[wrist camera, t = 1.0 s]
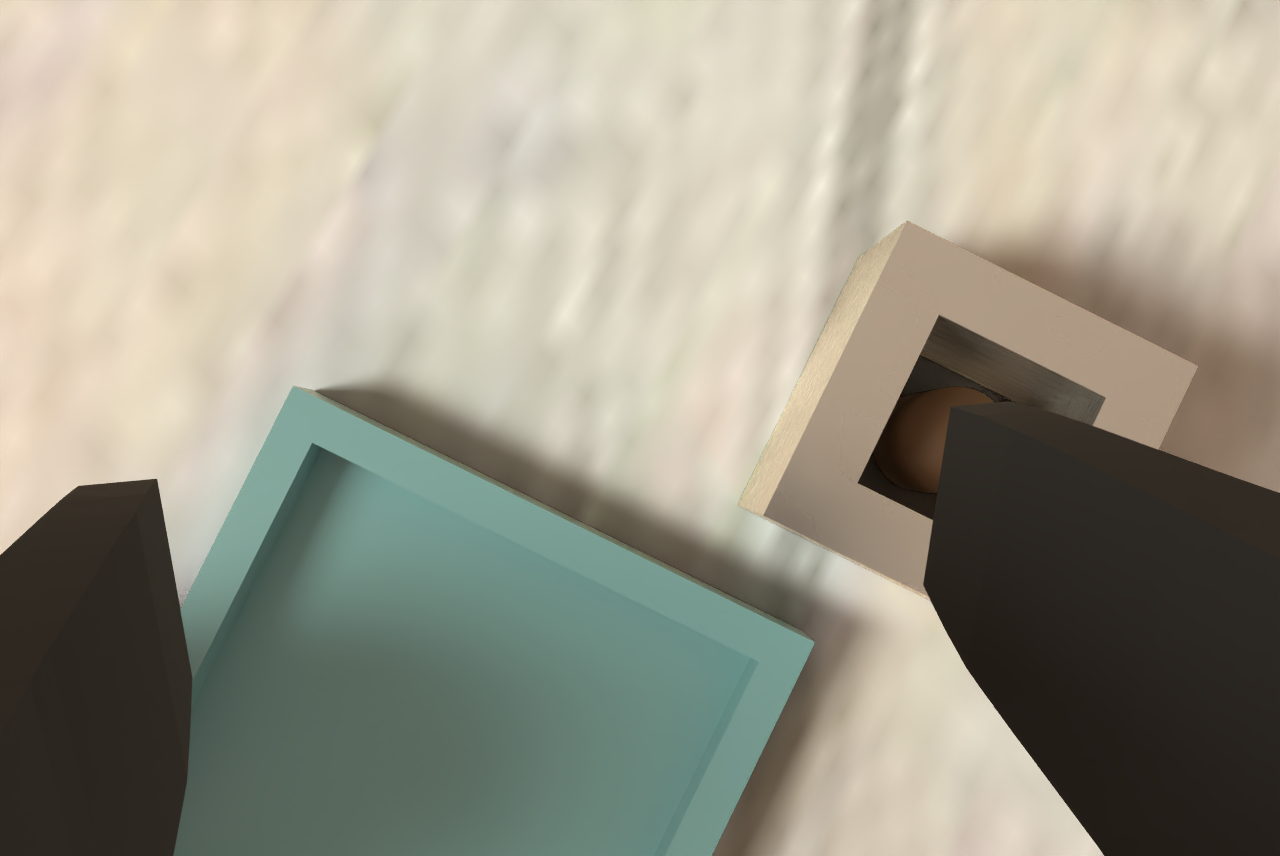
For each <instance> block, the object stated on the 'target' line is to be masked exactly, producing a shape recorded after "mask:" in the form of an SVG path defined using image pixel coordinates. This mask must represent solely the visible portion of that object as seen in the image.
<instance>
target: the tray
mask: <svg viewBox="0 0 1280 856" xmlns="http://www.w3.org/2000/svg"><path fill="white" fill-rule="evenodd" d="M180 611H181V616H182V622H183V627H184V633H185V639H186V644H187V650H188V655H189V661H190V667H191V672H192V701H191V724H190V743H189V760H188V776H187V785H186V790H185V796H184V801H183V807H182V812H181V818H180V823H179V828H178V834H177V839H176V844H175V850H174V855H173V856H712V854H713V852H714V850H715V848H716V846H717V844H718V842H719V840H720V838H721V836H722V834H723V832H724V830H725V828H726V825H727V823H728V821H729V819H730V817H731V815H732V813H733V811H734V809H735V807H736V805H737V803H738V801H739V799H740V797H741V794H742V792H743V790H744V788H745V786H746V784H747V782H748V780H749V778H750V776H751V774H752V772H753V770H754V768H755V766H756V764H757V761H758V759H759V757H760V755H761V753H762V751H763V749H764V747H765V745H766V743H767V741H768V739H769V737H770V735H771V733H772V731H773V728H774V726H775V724H776V722H777V720H778V718H779V716H780V714H781V712H782V710H783V708H784V706H785V704H786V702H787V700H788V698H789V695H790V693H791V691H792V689H793V687H794V685H795V683H796V681H797V679H798V677H799V675H800V673H801V671H802V669H803V667H804V664H805V662H806V660H807V658H808V656H809V654H810V652H811V650H812V648H813V646H814V644H815V642H814V641H813V640H812V639H811V638H810V637H809V636H807V635H806V634H805V633H804V632H803V631H802V630H800V629H798V628H796V627H793V626H791V625H789V624H787V623H785V622H783V621H781V620H779V619H777V618H775V617H773V616H771V615H769V614H767V613H765V612H763V611H761V610H759V609H757V608H755V607H753V606H751V605H749V604H747V603H745V602H743V601H741V600H739V599H737V598H734V597H732V596H730V595H728V594H726V593H724V592H722V591H720V590H718V589H716V588H714V587H712V586H710V585H708V584H706V583H704V582H702V581H700V580H698V579H696V578H694V577H692V576H690V575H688V574H686V573H684V572H682V571H680V570H678V569H675V568H673V567H671V566H669V565H667V564H665V563H663V562H661V561H659V560H657V559H655V558H653V557H651V556H649V555H647V554H645V553H643V552H641V551H639V550H637V549H635V548H633V547H631V546H629V545H627V544H625V543H623V542H621V541H619V540H616V539H614V538H612V537H610V536H608V535H606V534H604V533H602V532H600V531H598V530H596V529H594V528H592V527H590V526H588V525H586V524H584V523H582V522H580V521H578V520H576V519H574V518H572V517H570V516H568V515H566V514H564V513H562V512H560V511H557V510H555V509H553V508H551V507H549V506H547V505H545V504H543V503H541V502H539V501H537V500H535V499H533V498H531V497H529V496H527V495H525V494H523V493H521V492H519V491H517V490H515V489H513V488H511V487H509V486H507V485H505V484H503V483H501V482H498V481H496V480H494V479H492V478H490V477H488V476H486V475H484V474H482V473H480V472H478V471H476V470H474V469H472V468H470V467H468V466H466V465H464V464H462V463H460V462H458V461H456V460H454V459H452V458H450V457H448V456H446V455H444V454H441V453H439V452H437V451H435V450H433V449H431V448H429V447H427V446H425V445H423V444H421V443H419V442H417V441H415V440H413V439H411V438H409V437H407V436H405V435H403V434H401V433H399V432H397V431H395V430H393V429H391V428H389V427H387V426H385V425H382V424H380V423H378V422H376V421H374V420H372V419H370V418H368V417H366V416H364V415H362V414H360V413H358V412H356V411H354V410H352V409H350V408H348V407H346V406H344V405H342V404H340V403H338V402H336V401H334V400H332V399H330V398H328V397H326V396H323V395H321V394H319V393H317V392H315V391H313V390H310V389H305V388H301V387H296V386H293V387H292V389H291V391H290V393H289V395H288V397H287V399H286V401H285V403H284V405H283V407H282V409H281V411H280V413H279V415H278V417H277V419H276V421H275V423H274V425H273V427H272V429H271V431H270V433H269V435H268V437H267V439H266V441H265V443H264V445H263V447H262V449H261V451H260V453H259V454H258V456H257V458H256V460H255V462H254V464H253V466H252V468H251V470H250V472H249V474H248V476H247V478H246V480H245V482H244V484H243V486H242V488H241V490H240V492H239V494H238V496H237V498H236V500H235V502H234V504H233V506H232V508H231V510H230V512H229V514H228V516H227V518H226V520H225V522H224V524H223V526H222V528H221V530H220V532H219V534H218V536H217V538H216V540H215V542H214V544H213V546H212V548H211V550H210V552H209V554H208V556H207V558H206V560H205V562H204V564H203V566H202V568H201V570H200V572H199V574H198V576H197V578H196V580H195V582H194V584H193V586H192V588H191V590H190V592H189V594H188V595H187V597H186V599H185V601H184V603H183V605H182V607H181V609H180Z"/></svg>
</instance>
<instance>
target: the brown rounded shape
mask: <svg viewBox="0 0 1280 856" xmlns="http://www.w3.org/2000/svg"><path fill="white" fill-rule="evenodd" d="M984 403H995V402H994V401H993V400H992V399H990V398H989V397H988V396H986V395H985V394H983V393H981V392H979V391H977V390H974V389H971V388H967V387H946V388H940V389H935V390H930V391H925V392H920V393H915V394H910V395H906V396H903V397H901V398H899V399H898V400H897V403H896V405H895V407H894V409H893V411H892V413H891V415H890V417H889V419H888V421H887V423H886V425H885V427H884V429H883V431H882V433H881V435H880V438H879V440H878V442H877V444H876V446H875V448H874V450H873V453H874V457H875V460H876V462H877V465H878V466H879V468H880V470H881V471H882V472H883V474H884V475H885V476H886V477H887V478H888V479H889V480H891V481H892V482H893V483H895V484H896V485H898V486H900V487H902V488H905V489H908V490H912V491H919V492H927V493H936V494H937V491H938V485H939V478H940V472H941V466H942V459H943V453H944V446H945V440H946V433H947V427H948V420H949V414H950V407H951V406H962V405H973V404H984Z"/></svg>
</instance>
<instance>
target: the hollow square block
mask: <svg viewBox="0 0 1280 856" xmlns="http://www.w3.org/2000/svg"><path fill="white" fill-rule="evenodd" d="M919 355H922V356H924V357H926V358H928V359H930V360H932V361H934V362H936V363H938V364H940V365H942V366H944V367H946V368H948V369H950V370H952V371H954V372H956V373H958V374H960V375H962V376H964V377H966V378H968V379H970V380H972V381H974V382H976V383H978V384H980V385H982V386H984V387H986V388H988V389H990V390H992V391H994V392H996V393H998V394H1000V395H1002V396H1004V397H1006V398H1008V399H1010V400H1012V401H1014V402H1016V403H1019V404H1023V405H1028V406H1032V407H1035V408H1039V409H1043V410H1046V411H1049V412H1053V413H1056V414H1059V415H1062V416H1065V417H1068V418H1071V419H1074V420H1077V421H1080V422H1083V423H1086V424H1089V425H1092V426H1095V427H1098V428H1100V429H1103V430H1106V431H1109V432H1111V433H1114V434H1117V435H1120V436H1122V437H1125V438H1128V439H1131V440H1133V441H1136V442H1139V443H1141V444H1144V445H1147V446H1150V447H1152V448H1155V449H1158V450H1159V448H1160V445H1161V443H1162V441H1163V439H1164V437H1165V435H1166V433H1167V431H1168V429H1169V427H1170V425H1171V422H1172V420H1173V418H1174V416H1175V414H1176V412H1177V410H1178V408H1179V406H1180V404H1181V401H1182V399H1183V397H1184V395H1185V393H1186V391H1187V389H1188V387H1189V385H1190V383H1191V381H1192V378H1193V376H1194V374H1195V372H1196V370H1197V368H1198V365H1195V364H1193V363H1191V362H1189V361H1187V360H1185V359H1183V358H1181V357H1179V356H1177V355H1175V354H1173V353H1171V352H1169V351H1167V350H1165V349H1163V348H1161V347H1159V346H1157V345H1155V344H1153V343H1151V342H1149V341H1147V340H1145V339H1143V338H1141V337H1139V336H1137V335H1135V334H1133V333H1131V332H1129V331H1127V330H1125V329H1123V328H1121V327H1119V326H1117V325H1115V324H1113V323H1111V322H1109V321H1107V320H1105V319H1103V318H1101V317H1099V316H1097V315H1095V314H1093V313H1091V312H1089V311H1087V310H1085V309H1083V308H1081V307H1079V306H1077V305H1075V304H1073V303H1071V302H1069V301H1067V300H1065V299H1063V298H1061V297H1059V296H1057V295H1055V294H1053V293H1051V292H1049V291H1047V290H1045V289H1043V288H1041V287H1039V286H1037V285H1035V284H1033V283H1031V282H1029V281H1027V280H1025V279H1023V278H1021V277H1019V276H1017V275H1015V274H1013V273H1011V272H1009V271H1007V270H1005V269H1003V268H1001V267H999V266H997V265H995V264H993V263H991V262H989V261H987V260H985V259H983V258H981V257H979V256H977V255H975V254H973V253H971V252H969V251H967V250H965V249H963V248H961V247H959V246H957V245H955V244H953V243H951V242H949V241H947V240H945V239H943V238H941V237H939V236H937V235H935V234H933V233H931V232H929V231H927V230H925V229H923V228H921V227H919V226H917V225H915V224H913V223H911V222H909V221H906V222H905V223H903V224H902V225H901V226H899V227H898V228H897V229H896V230H894V231H893V232H892V233H890V234H889V235H888V236H886V237H885V238H884V239H883V240H881V241H880V242H879V243H877V244H876V245H875V246H873V247H872V248H871V249H870V250H868V251H867V252H866V253H864V254H863V255H862V256H861V257H859V258H858V259H857V261H856V263H855V265H854V268H853V270H852V272H851V274H850V276H849V278H848V280H847V282H846V284H845V286H844V288H843V290H842V292H841V294H840V296H839V298H838V300H837V302H836V304H835V306H834V308H833V310H832V313H831V315H830V317H829V319H828V321H827V323H826V325H825V327H824V329H823V331H822V333H821V335H820V337H819V339H818V341H817V343H816V345H815V347H814V349H813V351H812V353H811V356H810V358H809V360H808V362H807V364H806V366H805V368H804V370H803V372H802V374H801V376H800V378H799V380H798V382H797V384H796V386H795V388H794V390H793V392H792V394H791V396H790V398H789V401H788V403H787V405H786V407H785V409H784V411H783V413H782V415H781V417H780V419H779V421H778V423H777V425H776V427H775V429H774V431H773V433H772V435H771V437H770V439H769V441H768V443H767V446H766V448H765V450H764V452H763V454H762V456H761V458H760V460H759V462H758V464H757V466H756V468H755V470H754V472H753V474H752V476H751V478H750V480H749V482H748V484H747V486H746V488H745V491H744V493H743V495H742V497H741V499H740V501H739V503H738V506H740V507H742V508H744V509H746V510H748V511H750V512H752V513H754V514H756V515H758V516H760V517H762V518H764V519H766V520H768V521H771V522H773V523H775V524H777V525H779V526H781V527H783V528H785V529H787V530H789V531H791V532H793V533H795V534H797V535H799V536H801V537H803V538H805V539H807V540H809V541H811V542H813V543H815V544H817V545H819V546H821V547H823V548H825V549H827V550H829V551H831V552H833V553H835V554H837V555H839V556H842V557H844V558H846V559H848V560H850V561H852V562H854V563H856V564H858V565H860V566H862V567H864V568H866V569H868V570H870V571H872V572H874V573H876V574H878V575H880V576H882V577H884V578H886V579H888V580H890V581H892V582H894V583H896V584H898V585H900V586H902V587H904V588H906V589H908V590H910V591H913V592H915V593H917V594H919V595H921V596H923V597H925V598H927V599H929V600H930V598H929V596H928V594H927V592H926V590H925V588H924V586H923V582H924V575H925V569H926V563H927V556H928V550H929V543H930V537H931V530H932V524H933V520H931V519H929V518H927V517H925V516H923V515H921V514H919V513H917V512H915V511H913V510H911V509H909V508H907V507H905V506H903V505H901V504H899V503H897V502H895V501H893V500H891V499H889V498H887V497H885V496H883V495H881V494H879V493H877V492H875V491H873V490H871V489H869V488H867V487H864V486H862V485H860V484H858V481H859V479H860V477H861V475H862V473H863V470H864V468H865V466H866V464H867V462H868V460H869V458H870V456H871V454H872V452H873V450H874V448H875V446H876V444H877V442H878V440H879V438H880V435H881V433H882V431H883V429H884V427H885V425H886V423H887V421H888V419H889V417H890V415H891V413H892V411H893V409H894V407H895V405H896V403H897V400H898V398H899V396H900V394H901V392H902V390H903V388H904V386H905V384H906V382H907V380H908V378H909V376H910V374H911V372H912V370H913V368H914V365H915V363H916V361H917V359H918V357H919Z"/></svg>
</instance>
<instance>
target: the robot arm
mask: <svg viewBox="0 0 1280 856" xmlns="http://www.w3.org/2000/svg"><path fill="white" fill-rule="evenodd" d="M923 586H924V588H925V590H926V592H927V594H928V596H929V598H930V600H931V602H932V604H933V606H934V608H935V610H936V612H937V614H938V616H939V618H940V620H941V622H942V624H943V626H944V628H945V630H946V632H947V634H948V636H949V637H950V639H951V641H952V643H953V645H954V646H955V648H956V650H957V652H958V654H959V655H960V657H961V659H962V661H963V663H964V664H965V666H966V668H967V669H968V671H969V672H970V674H971V675H972V676H973V678H974V679H975V681H976V682H977V684H978V685H979V686H980V688H981V689H982V691H983V692H984V693H985V695H986V696H987V698H988V699H989V700H990V702H991V703H992V704H993V706H994V707H995V709H996V710H997V711H998V713H999V714H1000V715H1001V717H1002V718H1003V720H1004V721H1005V722H1006V724H1007V725H1008V726H1009V728H1010V729H1011V731H1012V732H1013V733H1014V735H1015V736H1016V737H1017V739H1018V740H1019V741H1020V743H1021V744H1022V745H1023V747H1024V748H1025V749H1026V751H1027V752H1028V753H1029V755H1030V756H1031V757H1032V759H1033V760H1034V761H1035V763H1036V764H1037V765H1038V767H1039V768H1040V769H1041V771H1042V772H1043V773H1044V775H1045V776H1046V777H1047V779H1048V780H1049V781H1050V783H1051V784H1052V785H1053V787H1054V788H1055V789H1056V791H1057V792H1058V794H1059V795H1060V796H1061V798H1062V799H1063V800H1064V802H1065V803H1066V804H1067V806H1068V807H1069V808H1070V810H1071V811H1072V812H1073V814H1074V815H1075V816H1076V818H1077V819H1078V820H1079V822H1080V823H1081V824H1082V826H1083V827H1084V828H1085V830H1086V831H1087V832H1088V834H1089V835H1090V836H1091V838H1092V839H1093V840H1094V842H1095V843H1096V845H1097V846H1098V847H1099V849H1100V850H1101V852H1102V853H1103V855H1104V856H1280V493H1278V492H1275V491H1272V490H1269V489H1266V488H1263V487H1260V486H1257V485H1255V484H1252V483H1249V482H1246V481H1243V480H1240V479H1237V478H1234V477H1232V476H1229V475H1226V474H1223V473H1220V472H1218V471H1215V470H1212V469H1209V468H1207V467H1204V466H1201V465H1198V464H1196V463H1193V462H1190V461H1187V460H1185V459H1182V458H1179V457H1177V456H1174V455H1171V454H1168V453H1166V452H1163V451H1160V450H1158V449H1155V448H1152V447H1150V446H1147V445H1144V444H1141V443H1139V442H1136V441H1133V440H1131V439H1128V438H1125V437H1122V436H1120V435H1117V434H1114V433H1111V432H1109V431H1106V430H1103V429H1100V428H1098V427H1095V426H1092V425H1089V424H1086V423H1083V422H1080V421H1077V420H1074V419H1071V418H1068V417H1065V416H1062V415H1059V414H1056V413H1053V412H1049V411H1046V410H1043V409H1039V408H1035V407H1032V406H1028V405H1023V404H1019V403H1014V402H1009V401H1006V402H995V403H984V404H973V405H962V406H951V407H950V414H949V420H948V427H947V433H946V440H945V446H944V453H943V459H942V466H941V472H940V478H939V485H938V491H937V498H936V504H935V511H934V517H933V524H932V530H931V537H930V543H929V550H928V556H927V563H926V569H925V575H924V582H923ZM191 701H192V672H191V667H190V661H189V655H188V650H187V644H186V639H185V633H184V627H183V622H182V616H181V611H180V605H179V599H178V594H177V588H176V583H175V577H174V571H173V566H172V560H171V555H170V549H169V543H168V538H167V532H166V527H165V521H164V516H163V510H162V504H161V499H160V493H159V488H158V482H157V479H150V480H139V481H128V482H117V483H106V484H95V485H84V486H78V487H76V488H75V489H74V490H73V491H71V492H70V493H69V494H67V495H66V496H65V497H64V498H63V499H61V500H60V501H59V502H58V503H57V504H56V505H55V506H54V507H52V508H51V509H50V510H49V511H48V512H47V513H46V514H45V515H44V516H42V517H41V518H40V519H39V520H38V521H37V522H36V523H35V524H34V525H33V526H32V527H31V528H29V529H28V530H27V531H26V532H25V533H24V534H23V535H22V536H21V537H20V538H19V539H17V540H16V541H15V542H14V543H13V544H12V545H11V546H10V547H9V548H8V549H7V550H5V551H4V552H3V553H2V554H1V555H0V856H173V855H174V850H175V844H176V839H177V834H178V828H179V823H180V818H181V812H182V807H183V801H184V796H185V790H186V785H187V776H188V760H189V743H190V724H191Z"/></svg>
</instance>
